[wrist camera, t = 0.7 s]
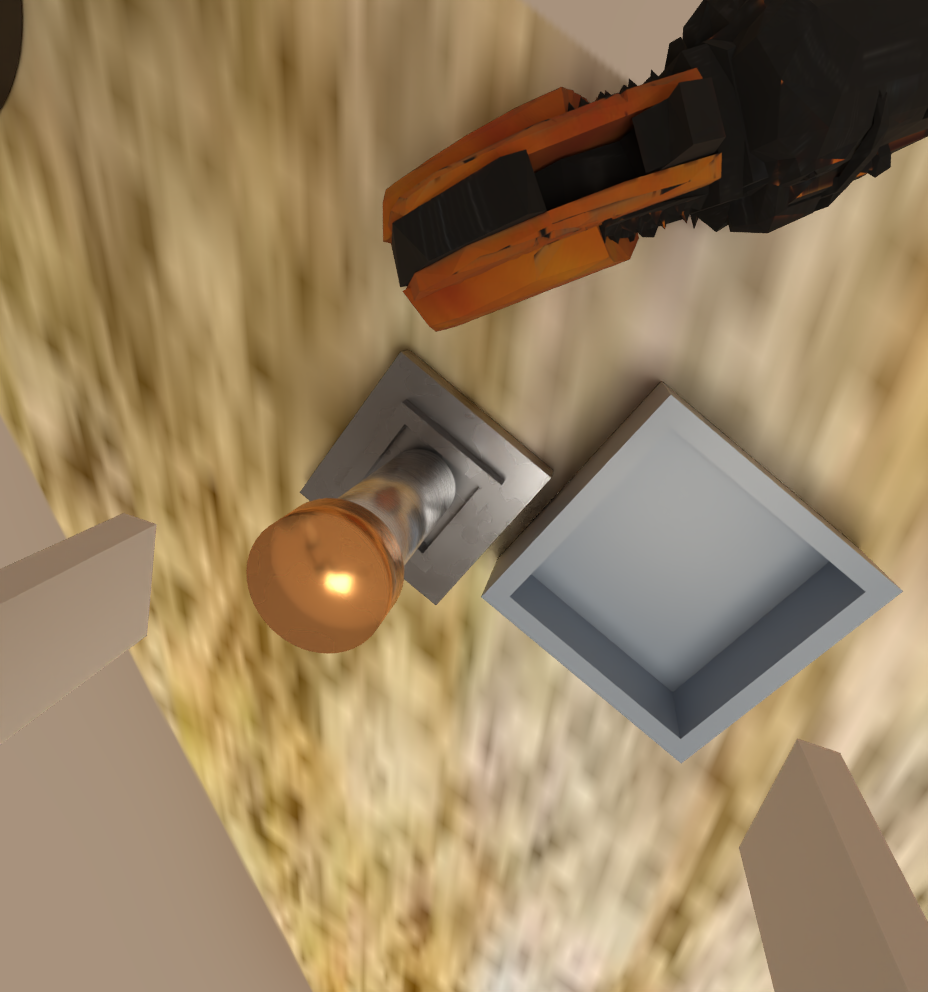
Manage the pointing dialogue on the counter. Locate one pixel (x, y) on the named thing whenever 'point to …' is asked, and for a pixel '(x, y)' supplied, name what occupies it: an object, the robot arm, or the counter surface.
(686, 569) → the bin
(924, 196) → the counter surface
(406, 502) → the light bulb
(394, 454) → the collar plate
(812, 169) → the tool
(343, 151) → the counter surface
